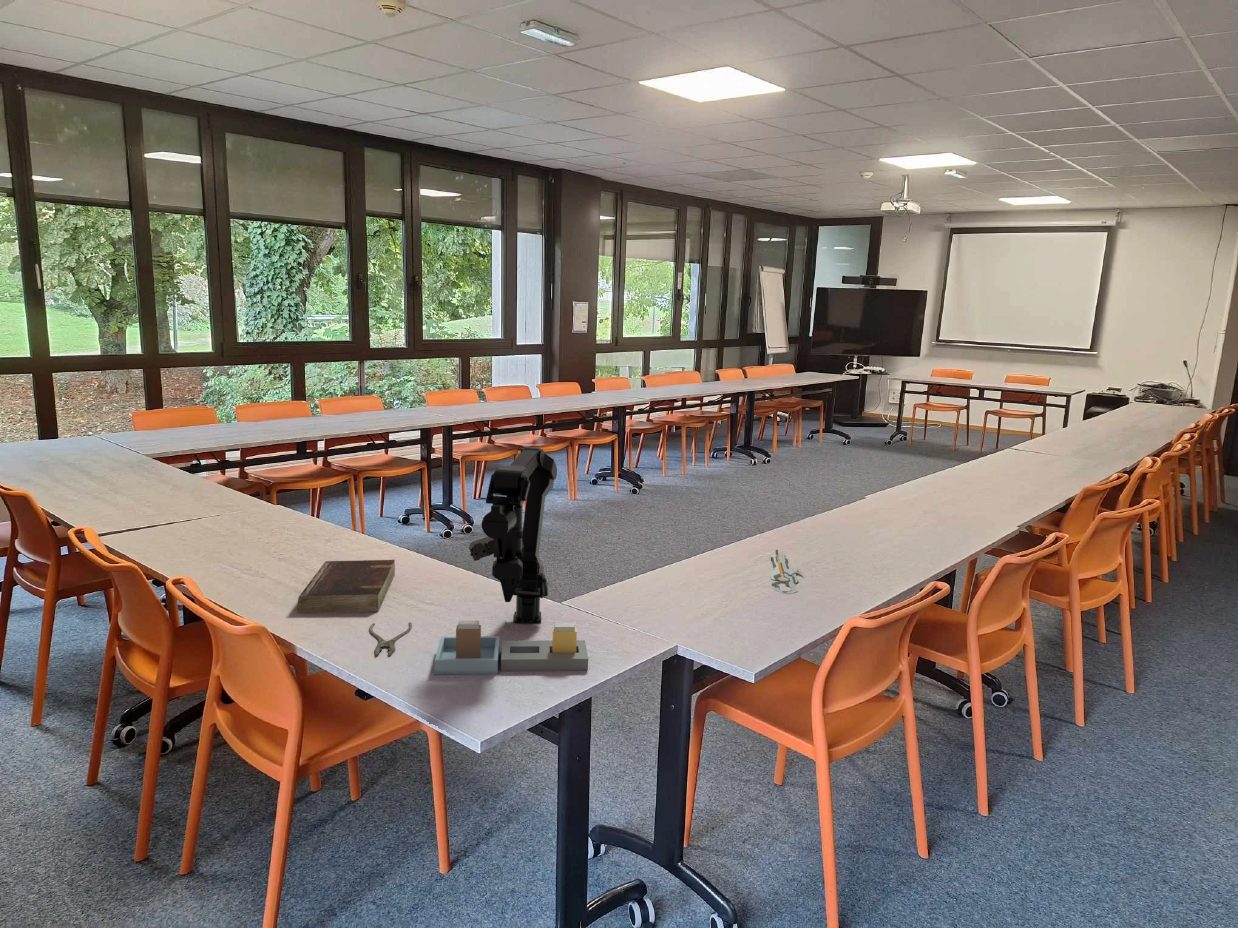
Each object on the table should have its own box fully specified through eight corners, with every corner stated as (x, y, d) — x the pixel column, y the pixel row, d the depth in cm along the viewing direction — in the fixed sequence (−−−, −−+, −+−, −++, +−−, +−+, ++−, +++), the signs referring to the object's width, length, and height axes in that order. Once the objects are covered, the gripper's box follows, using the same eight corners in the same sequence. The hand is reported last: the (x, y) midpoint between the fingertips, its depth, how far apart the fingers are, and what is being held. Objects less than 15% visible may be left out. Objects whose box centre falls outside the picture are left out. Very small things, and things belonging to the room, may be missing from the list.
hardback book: (324, 577, 223) (324, 559, 222) (394, 576, 225) (394, 559, 224) (298, 614, 194) (297, 594, 193) (378, 613, 197) (378, 594, 196)
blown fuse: (456, 656, 171) (457, 620, 170) (480, 656, 172) (481, 620, 170) (455, 660, 169) (456, 624, 168) (480, 660, 169) (480, 624, 168)
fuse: (551, 658, 174) (552, 623, 172) (575, 658, 174) (576, 622, 173) (552, 662, 171) (553, 627, 170) (575, 662, 172) (576, 627, 171)
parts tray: (441, 649, 176) (441, 636, 175) (499, 649, 177) (499, 636, 177) (434, 674, 164) (434, 660, 163) (497, 673, 165) (497, 659, 164)
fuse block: (502, 651, 176) (502, 640, 176) (584, 650, 178) (584, 640, 178) (500, 670, 166) (501, 659, 166) (587, 669, 168) (588, 658, 168)
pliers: (410, 618, 192) (422, 650, 174) (410, 622, 192) (422, 654, 174) (367, 622, 188) (375, 655, 170) (367, 626, 189) (375, 659, 170)
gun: (772, 597, 223) (809, 599, 222) (772, 589, 223) (809, 591, 222) (765, 555, 262) (796, 556, 260) (765, 548, 261) (796, 550, 260)
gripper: (474, 514, 183) (474, 580, 186) (467, 538, 165) (467, 610, 168) (524, 515, 184) (523, 580, 187) (522, 538, 166) (521, 610, 169)
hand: (508, 594), depth 178 cm, fingers open, 9 cm apart
